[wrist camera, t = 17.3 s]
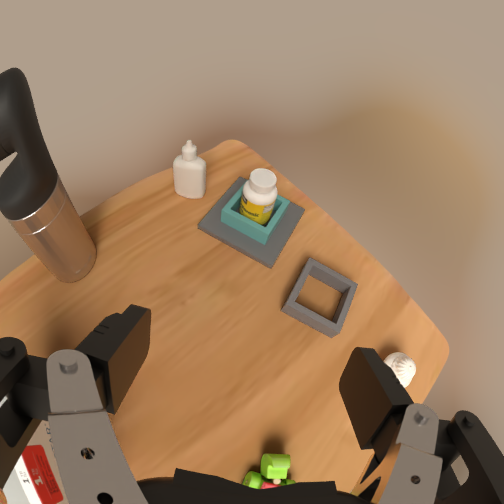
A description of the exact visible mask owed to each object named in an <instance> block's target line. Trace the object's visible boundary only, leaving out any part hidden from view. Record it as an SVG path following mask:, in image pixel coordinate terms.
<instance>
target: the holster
mask: <svg viewBox="0 0 504 504" xmlns="http://www.w3.org/2000/svg"><path fill="white" fill-rule="evenodd" d="M308 274H309V275H311V276H312V277H314V278H316V279H318V280H320V281H321V282H323V283H325V284H327V285H329V286H330V287H332V288H334V289H336V290H338V291H339V292H341V293H343V295H342V298H341V300H340V303H339V305H338V308H337V310H336V313H335V315H334V318H333V320H332V322H331V321H330V320H328V319H326V318H324V317H322V316H320V315H318V314H317V313H315V312H313V311H311V310H309V309H307V308H306V307H304V306H302V305H300V304H298V303H296V302H295V301H296V299H297V297H298V295H299V293H300V291H301V289H302V287H303V285H304V283H305V280H306V278H307V276H308ZM357 285H358V284H357V283H355V282H353V281H351V280H350V279H348V278H346V277H344V276H343V275H341V274H339V273H337V272H335V271H334V270H332V269H330V268H328V267H326V266H325V265H323V264H321V263H319V262H317V261H316V260H314V259H312V258H309V259H308V261H307V262H306V264H305V265H304V267H303V269H302V271H301V273H300V275H299V277H298V279H297V281H296V283H295V285H294V287H293V289H292V291H291V292H290V294H289V296H288V298H287V300H286V302H285V304H284V306H283V308H282V309H281V311H282V312H284V313H286V314H288V315H290V316H291V317H293V318H295V319H297V320H299V321H301V322H302V323H304V324H306V325H308V326H310V327H312V328H314V329H316V330H317V331H319V332H321V333H323V334H325V335H327V336H329V337H331V338H332V337H334V336H335V335H337V334H339V333H340V331H341V328H342V326H343V323H344V321H345V318H346V316H347V313H348V310H349V308H350V305H351V302H352V300H353V297H354V294H355V291H356V288H357Z"/></svg>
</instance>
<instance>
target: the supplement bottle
mask: <svg viewBox="0 0 504 504" xmlns="http://www.w3.org/2000/svg"><path fill="white" fill-rule="evenodd" d="M276 181H277V178H276V176H275V174H274V173H273V172H272V171H270V170H268V169H264V168H258V169H255V170H253V171H252V172H251V174H250V178H249V180H248V181H247V182H246V183H245V184H244V187H243V191H242V197H241V203H240V209H239V214H241V215H243V216H245V217H247V218H249V219H250V220H252V221H254V222H256V223H258V224H260V225H262V226H265V225H266V224H267V223H268V222H269V220H270V217H271V213H272V210H273V207H274V204H275V201H276V198H277V187H276V186H275V185H276Z"/></svg>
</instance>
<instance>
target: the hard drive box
mask: <svg viewBox="0 0 504 504" xmlns="http://www.w3.org/2000/svg"><path fill="white" fill-rule="evenodd" d="M6 399H7V397H6V396H5V397H4V399H3V400H2V401H1V402H0V407H1V406H2V404H3V403H4V402H5V401H6ZM3 492H4V494H5V496H6V499H7V504H69V503H68V500H67V497H66V494H65V491H64V488H63V484H62V481H61V477H60V474H59V470H58V466H57V462H56V458H55V454H54V449H53V444H52V439H51V434H50V428H49V422H48V421H44V420H42V421H41V423H40V425H39V426H38V428H37V429H36V431H35V433H34V434H33V436H32V438H31V439H30V441H29V443H28V444H27V446H26V448H25V449H24V451H23V453H22V454H21V456H20V458H19V460H18V462H17V463H16V465H15V467H14V469H13V471H12V473H11V474H10V476H9V478H8V480H7V482H6V484H5V486H4V488H3Z"/></svg>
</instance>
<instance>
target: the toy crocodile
mask: <svg viewBox="0 0 504 504" xmlns="http://www.w3.org/2000/svg"><path fill="white" fill-rule="evenodd" d="M288 468H290V455H286V454H264V455H263V456H262V459H261V471H260V473H257V472H253V471H250V472H248V473H247V475H246V476H245V478H244V480H243V483H242V485H245V486H249V487H252V488H256V489H265V488H272V487H278V486H283V485H289V484H294V483H296V482H295V481H294V480H289V479H286V477H287V470H288ZM261 475H263V476H264V477H266V478H264V477H262V476H261ZM280 479H283V480H282V481H281V480H280Z"/></svg>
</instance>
